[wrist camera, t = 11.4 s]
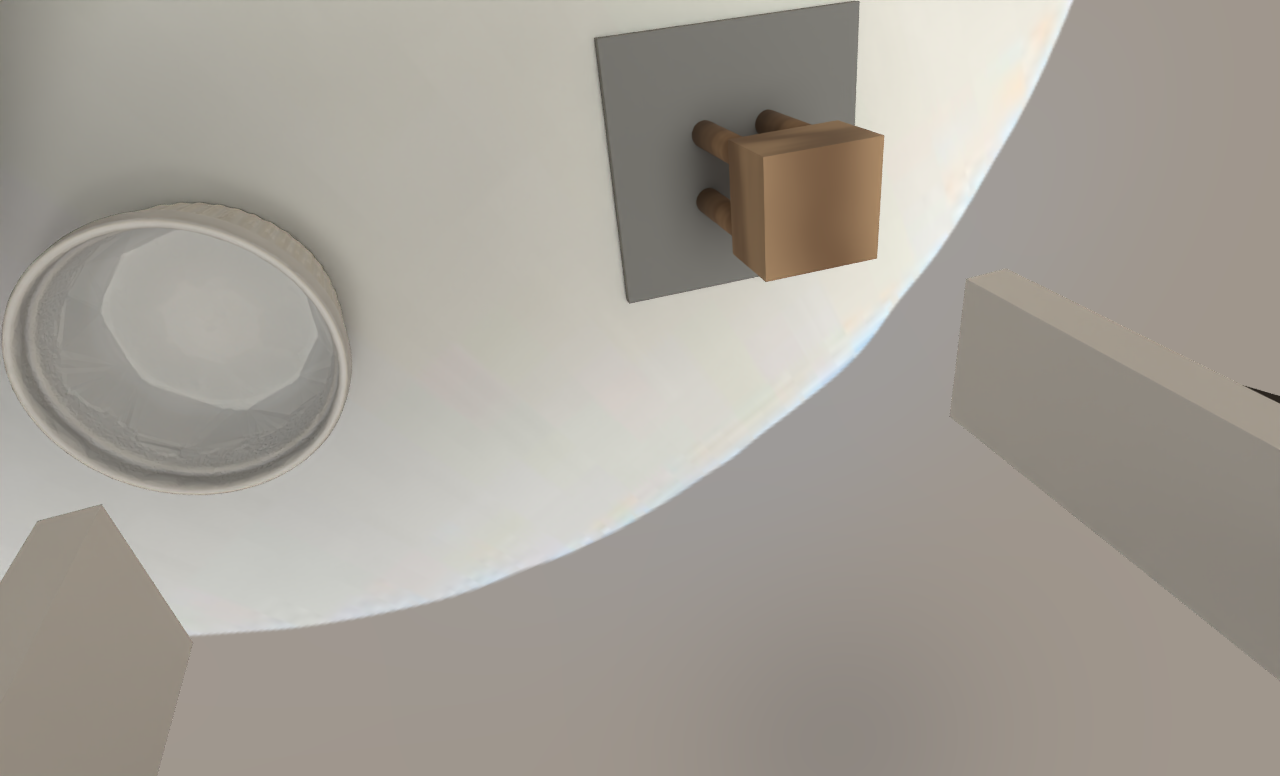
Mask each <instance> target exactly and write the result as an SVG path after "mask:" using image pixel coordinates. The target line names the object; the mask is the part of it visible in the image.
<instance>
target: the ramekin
mask: <svg viewBox="0 0 1280 776" xmlns="http://www.w3.org/2000/svg"><path fill="white" fill-rule="evenodd" d="M2 353H3V359H4V365H5V370H6V373H7V375H8V378H9V381H10V383H11V386H12V389H13V391H14V392H15V394H16V396H17V398H18V400H19V401H20V403H21V405H22V406H23V408H24V409H25V411H26V412H27V413H28V415H29V416H30V417H31V419H32V420H33V421H34V422H35V424H36V425H37V426H38V427H39V428H40V429H41V430H42V431H43V433H44V434H46V435H47V436H48V437H49V438H50V439H51V440H52V441H53V442H54V443H55V444H57V445H58V446H59V447H60V448H61V449H63V450H64V451H65V452H66V453H68V454H70V455H71V456H72V457H74V458H75V459H77V460H78V461H80V462H81V463H83V464H85V465H86V466H88V467H90V468H92V469H93V470H96V471H98V472H100V473H102V474H104V475H106V476H108V477H110V478H112V479H115V480H118V481H121V482H124V483H127V484H130V485H133V486H137V487H140V488H144V489H148V490H153V491H158V492H164V493H172V494H183V495H209V494H218V493H227V492H233V491H238V490H242V489H246V488H250V487H253V486H256V485H259V484H262V483H265V482H267V481H270V480H272V479H274V478H277V477H279V476H281V475H282V474H284V473H286V472H288V471H290V470H291V469H293V468H295V467H296V466H298V465H299V464H300V463H302V462H303V461H305V460H306V459H307V458H308V457H309V456H310V455H312V454H313V453H314V452H315V451H316V450H317V449H318V448H319V447H320V446H321V445H322V444H323V442H324V441H325V440H326V439H327V437H328V436H329V435H330V433H331V432H332V430H333V428H334V427H335V425H336V423H337V422H338V420H339V418H340V415H341V413H342V411H343V408H344V405H345V402H346V399H347V395H348V392H349V387H350V382H351V373H352V359H351V349H350V344H349V339H348V335H347V331H346V328H345V325H344V322H343V319H342V311H341V307H340V304H339V302H338V300H337V294H336V292H335V290H334V288H333V287H332V285H331V280H330V278H329V277H328V275H327V274H326V273H325V272H324V270H323V267H322V266H321V264H320V263H319V262H318V261H317V260H316V259H315V258H314V256H313V254H312V253H311V252H310V251H308V250H307V249H306V248H305V247H304V246H303V245H302V244H301V243H300V242H299V241H297V240H295V239H294V238H292V236H291V235H290V234H289V233H288V232H286V231H284V230H281V229H280V228H278V227H277V226H276V225H275V224H273V223H271V222H269V221H265V220H262V219H261V218H259V217H258V216H257V215H254V214H249V213H246V212H244V211H242V210H240V209H237V208H229V207H226V206H223V205H219V204H218V205H209V204H206V203H193V204H190V203H183V202H180V203H175V204H172V205H166V204H162V205H158V206H154V207H151V208H148V209H143V210H139V211H133V212H126V213H120V214H116V215H112V216H109V217H105V218H102V219H99V220H96V221H93V222H91V223H89V224H86V225H84V226H82V227H80V228H78V229H76V230H74V231H72V232H70V233H69V234H67V235H66V236H64V237H63V238H61V239H60V240H58V241H57V242H55V243H54V244H53V245H52V246H51V247H49V248H48V249H47V250H46V251H45V252H43V253H42V254H41V255H40V256H39V257H38V258H37V259H36V260H35V261H33V263H32V264H31V265H30V266H29V267H28V268H27V269H26V271H25V272H24V273H23V275H22V276H21V277H20V279H19V280H18V282H17V284H16V285H15V287H14V289H13V291H12V293H11V295H10V298H9V300H8V303H7V306H6V310H5V314H4V319H3V324H2Z"/></svg>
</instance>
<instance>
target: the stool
mask: <svg viewBox="0 0 1280 776" xmlns="http://www.w3.org/2000/svg"><path fill="white" fill-rule="evenodd" d="M755 128H756V131H757V133H758V134H755V135H750V136H744V137H742V136H740V135H738V134H736V133H734V132H732V131H730V130H727V129H725V128H723V127H721V126H719V125H717V124H715V123H713V122H711V121H708V120H703V121H700V122H698V123H697V124H696V125H695V126H694V128H693V131H692V139H693V142H694V143H695V144H696V145H697V146H698V147H700V148H702V149H703V150H705V151H707V152H709V153H710V154H712V155H714V156H716V157H717V158H719V159H721V160H722V161H724V162H726V163H728V164H729V178H730V199H728V198H727V197H725V196H724V195H722V194H721V193H719V192H718V191H717V190H715V189H713V188H706V189H704V190H702V191H701V192H700V193H699V195H698V196H697V200H696V204H697V207H698V209H699V210H700V211H701V212H702V213H704V214H705V215H706V216H707V217H709V218H710V219H711V220H712V221H714V222H715V223H716V224H718V225H719V226H720V227H721V228H723V229H724V230H725V231H726V232H728V233H729V234H730V235H731V236H732V246H733V254H734V255H735V256H736V257H737V258H738V259H739V260H741V261H742V262H743V263H744V264H745V265H747V266H748V267H749V268H750V269H751V270H752V271H754V272H755V273H756V274H757V275H758V276H760V277H761V278H762V279H763V280H764V281H765V282H768V281H773V280H777V279H782V278H787V277H791V276H796V275H801V274H806V273H810V272H815V271H820V270H825V269H829V268H834V267H839V266H843V265H848V264H853V263H858V262H862V261H867V260H872V259H877V249H878V232H879V215H880V198H881V181H882V164H883V147H884V135H881V134H878V133H875V132H872V131H869V130H866V129H863V128H860V127H857V126H854V125H851V124H848V123H845V122H842V121H839V120H836V121H830V122H825V123H819V124H813V125H812V124H809V123H806V122H803V121H801V120H798V119H795V118H792V117H790V116H787V115H784V114H781V113H779V112H776V111H773V110H764V111H762V112H761V113H760V114H759V115H758V117H757V118H756V122H755Z"/></svg>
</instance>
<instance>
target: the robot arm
mask: <svg viewBox="0 0 1280 776" xmlns="http://www.w3.org/2000/svg"><path fill="white" fill-rule="evenodd" d="M950 417H951V418H952V419H954V420H955V421H956V422H957V423H959V424H960V425H961V426H962V427H964V428H965V429H966V430H967V431H969V432H970V433H971V434H972V435H974V436H975V437H976V438H977V439H979V440H980V441H981V442H982V443H984V444H985V445H986V446H987V447H989V448H990V449H991V450H992V451H994V452H995V453H996V454H997V455H999V456H1000V457H1001V458H1002V459H1003V460H1005V461H1006V462H1007V463H1008V464H1010V465H1011V466H1012V467H1014V468H1015V469H1016V470H1017V471H1018V472H1020V473H1021V474H1022V475H1023V476H1025V477H1026V478H1027V479H1029V480H1030V481H1031V482H1032V483H1034V484H1035V485H1036V486H1037V487H1038V488H1040V489H1041V490H1042V491H1044V492H1045V493H1046V494H1047V495H1048V496H1050V497H1051V498H1052V499H1053V500H1055V501H1056V502H1057V503H1058V504H1060V505H1061V506H1062V507H1063V508H1065V509H1066V510H1067V511H1068V512H1070V513H1071V514H1072V515H1073V516H1075V517H1076V518H1077V519H1078V520H1080V521H1081V522H1082V523H1083V524H1085V525H1086V526H1087V527H1088V528H1090V529H1091V530H1092V531H1093V532H1095V533H1096V534H1097V535H1098V536H1100V537H1101V538H1102V539H1103V540H1105V541H1106V542H1107V543H1108V544H1110V545H1111V546H1112V547H1113V548H1115V549H1116V550H1117V551H1118V552H1120V553H1121V554H1122V555H1123V556H1125V557H1126V558H1127V559H1128V560H1129V561H1131V562H1132V563H1133V564H1135V565H1136V566H1137V567H1138V568H1139V569H1141V570H1142V571H1143V572H1144V573H1146V574H1147V575H1148V576H1149V577H1151V578H1152V579H1153V580H1154V581H1156V582H1157V583H1158V584H1160V585H1161V586H1162V587H1163V588H1164V589H1166V590H1167V591H1168V592H1170V593H1171V594H1172V595H1173V596H1174V597H1176V598H1177V599H1178V600H1179V601H1181V602H1182V603H1183V604H1184V605H1186V606H1187V607H1188V608H1189V609H1191V610H1192V611H1193V612H1194V613H1196V614H1197V615H1198V616H1199V617H1201V618H1202V619H1203V620H1204V621H1206V622H1207V623H1208V624H1209V625H1211V626H1212V627H1213V628H1214V629H1216V630H1217V631H1218V632H1219V633H1221V634H1222V635H1223V636H1224V637H1226V638H1227V639H1228V640H1229V641H1231V642H1232V643H1233V644H1235V645H1236V646H1237V647H1238V648H1239V649H1241V650H1242V651H1243V652H1244V653H1246V654H1247V655H1248V656H1249V657H1251V658H1252V659H1253V660H1254V661H1256V662H1257V663H1258V664H1259V665H1261V666H1262V667H1263V668H1264V669H1265V670H1267V671H1268V672H1269V673H1270V674H1272V675H1273V676H1274V677H1276V678H1277V679H1278V680H1279V681H1280V396H1278V395H1274V394H1271V393H1267V392H1264V391H1261V390H1257V389H1253V388H1250V387H1247V386H1244V385H1241V384H1239V383H1237V382H1235V381H1233V380H1231V379H1229V378H1227V377H1225V376H1223V375H1221V374H1219V373H1217V372H1215V371H1213V370H1210V369H1209V368H1206V367H1204V366H1202V365H1200V364H1198V363H1196V362H1194V361H1192V360H1190V359H1188V358H1186V357H1184V356H1182V355H1180V354H1178V353H1176V352H1174V351H1172V350H1170V349H1168V348H1166V347H1164V346H1162V345H1160V344H1158V343H1156V342H1154V341H1152V340H1150V339H1148V338H1146V337H1144V336H1141V335H1140V334H1138V333H1136V332H1134V331H1131V330H1130V329H1128V328H1125V327H1123V326H1121V325H1119V324H1117V323H1115V322H1113V321H1111V320H1109V319H1107V318H1105V317H1103V316H1101V315H1099V314H1097V313H1095V312H1093V311H1091V310H1089V309H1087V308H1085V307H1083V306H1081V305H1079V304H1077V303H1075V302H1073V301H1071V300H1069V299H1067V298H1065V297H1063V296H1061V295H1059V294H1057V293H1054V292H1053V291H1051V290H1049V289H1047V288H1045V287H1043V286H1040V285H1038V284H1036V283H1034V282H1032V281H1030V280H1028V279H1026V278H1024V277H1022V276H1020V275H1018V274H1016V273H1014V272H1012V271H1010V270H1008V269H1003V270H999V271H994V272H991V273H987V274H983V275H979V276H975V277H971V278H968V279H966V285H965V294H964V302H963V310H962V318H961V327H960V335H959V344H958V352H957V359H956V369H955V377H954V384H953V393H952V401H951V410H950ZM192 645H193V642H192V641H191V639H190V637H189V636H188V634H187V633H186V631H185V630H184V628H183V627H182V625H181V624H180V622H179V621H178V619H177V618H176V616H175V615H174V613H173V612H172V610H171V609H170V607H169V606H168V604H167V603H166V601H165V599H164V598H163V596H162V595H161V593H160V592H159V590H158V589H157V587H156V586H155V584H154V583H153V581H152V580H151V578H150V577H149V575H148V574H147V572H146V571H145V569H144V568H143V566H142V565H141V563H140V562H139V560H138V559H137V557H136V556H135V554H134V553H133V551H132V550H131V548H130V547H129V545H128V544H127V542H126V540H125V539H124V537H123V536H122V534H121V533H120V531H119V530H118V528H117V527H116V525H115V524H114V522H113V521H112V519H111V518H110V516H109V515H108V513H107V512H106V510H105V509H104V507H103V506H102V504H101V505H97V506H93V507H89V508H86V509H82V510H78V511H74V512H70V513H66V514H63V515H59V516H55V517H51V518H47V519H43V520H40V521H37V523H36V524H35V526H34V528H33V529H32V531H31V533H30V534H29V536H28V538H27V539H26V541H25V543H24V544H23V546H22V548H21V549H20V551H19V553H18V554H17V556H16V558H15V559H14V561H13V562H12V564H11V566H10V567H9V569H8V571H7V572H6V574H5V576H4V577H3V579H2V581H1V582H0V776H157V774H158V771H159V767H160V763H161V760H162V756H163V752H164V748H165V745H166V741H167V737H168V733H169V730H170V726H171V723H172V719H173V715H174V712H175V708H176V704H177V700H178V697H179V693H180V689H181V686H182V682H183V678H184V674H185V670H186V667H187V663H188V660H189V656H190V652H191V648H192Z"/></svg>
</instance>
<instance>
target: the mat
mask: <svg viewBox="0 0 1280 776" xmlns="http://www.w3.org/2000/svg"><path fill="white" fill-rule="evenodd" d="M858 27H859V1H851V2H844V3H837V4H830V5H823V6H816V7H809V8H802V9H795V10H788V11H781V12H774V13H767V14H760V15H753V16H746V17H739V18H732V19H725V20H718V21H711V22H704V23H697V24H690V25H683V26H676V27H668V28H661V29H654V30H647V31H640V32H633V33H626V34H619V35H612V36H605V37H598V38H594V39H595V47H596V55H597V63H598V71H599V79H600V87H601V95H602V103H603V111H604V119H605V127H606V135H607V143H608V151H609V160H610V168H611V176H612V184H613V192H614V200H615V208H616V216H617V224H618V232H619V240H620V248H621V256H622V264H623V272H624V281H625V289H626V297H627V301H628V302H629V304H630V303H634V302H639V301H644V300H649V299H653V298H658V297H663V296H668V295H672V294H677V293H682V292H687V291H692V290H696V289H701V288H706V287H711V286H715V285H720V284H725V283H730V282H734V281H739V280H744V279H749V278H754V277H758V275H757V274H756V273H755V272H754V271H752V270H751V269H750V268H749V267H748V266H747V265H745V264H744V263H743V262H742V261H741V260H739V259H738V258H737V257H736V256H735V255H734V254H733V246H732V236H731V235H730V234H729V233H728V232H726V231H725V230H724V229H723V228H721V227H720V226H719V225H718V224H716V223H715V222H714V221H712V220H711V219H710V218H709V217H707V216H706V215H705V214H704V213H702V212H701V211H700V210H699V209H698V207H697V204H696V200H697V196H698V195H699V193H700V192H701V191H702V190H704V189H706V188H713V189H715V190H717V191H718V192H719V193H721V194H722V195H724V196H725V197H727V198H728V199H730V178H729V164H728V163H726V162H724V161H722V160H721V159H719V158H717V157H716V156H714V155H712V154H710V153H709V152H707V151H705V150H703V149H702V148H700V147H698V146H697V145H696V144H695V143H694V142H693V139H692V131H693V128H694V126H695V125H696V124H697V123H698V122H700V121H703V120H708V121H711V122H713V123H715V124H717V125H719V126H721V127H723V128H725V129H727V130H730V131H732V132H734V133H736V134H738V135H740V136H742V137H744V136H750V135H755V134H758V133H757V131H756V128H755V122H756V118H757V117H758V115H759V114H760V113H761V112H762V111H764V110H773V111H776V112H779V113H781V114H784V115H787V116H790V117H792V118H795V119H798V120H801V121H803V122H806V123H809V124H812V125H813V124H819V123H825V122H830V121H836V120H839V121H842V122H845V123H848V124H851V125H854V126H855V103H856V78H857V52H858Z"/></svg>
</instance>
